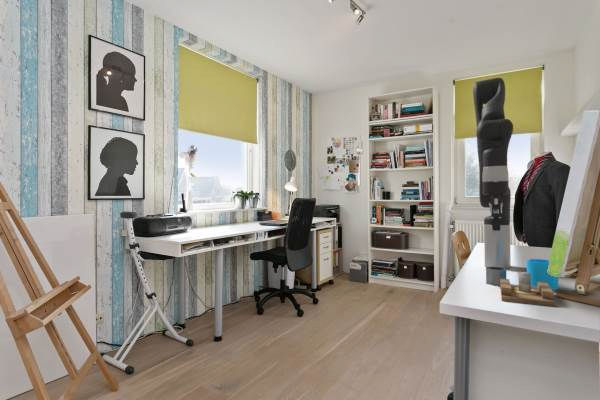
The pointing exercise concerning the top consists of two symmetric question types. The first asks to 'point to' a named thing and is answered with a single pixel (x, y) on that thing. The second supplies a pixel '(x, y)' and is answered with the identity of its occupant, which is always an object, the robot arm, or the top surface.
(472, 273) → the top surface
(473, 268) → the top surface
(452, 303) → the top surface
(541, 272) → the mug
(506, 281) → the shaft stand
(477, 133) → the robot arm
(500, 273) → the hub
